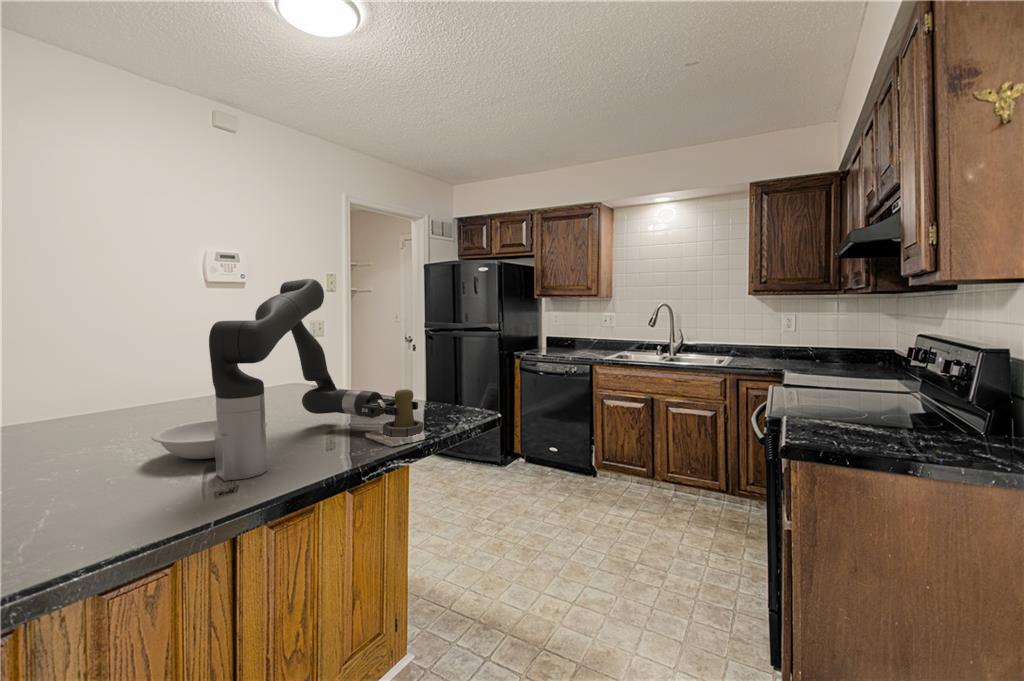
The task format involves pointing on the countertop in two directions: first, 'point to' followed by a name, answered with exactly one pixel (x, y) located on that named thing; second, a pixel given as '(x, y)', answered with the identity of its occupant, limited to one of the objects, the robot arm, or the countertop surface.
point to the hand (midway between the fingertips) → (408, 408)
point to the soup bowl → (189, 439)
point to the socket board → (397, 431)
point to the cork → (404, 409)
